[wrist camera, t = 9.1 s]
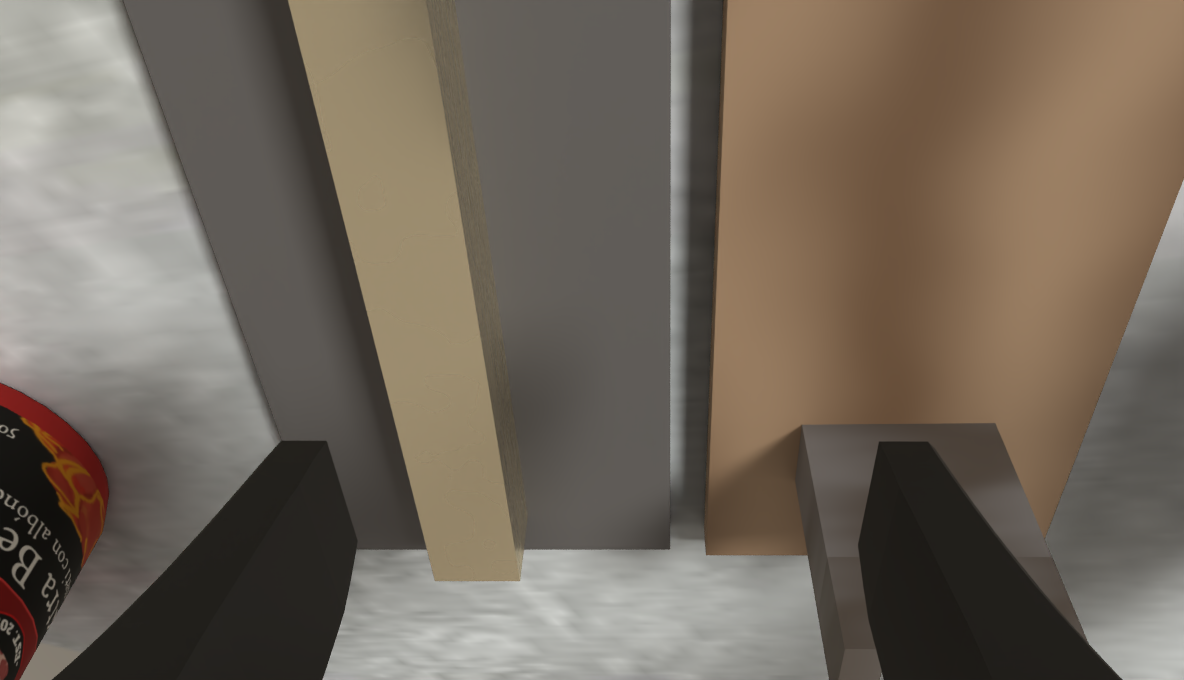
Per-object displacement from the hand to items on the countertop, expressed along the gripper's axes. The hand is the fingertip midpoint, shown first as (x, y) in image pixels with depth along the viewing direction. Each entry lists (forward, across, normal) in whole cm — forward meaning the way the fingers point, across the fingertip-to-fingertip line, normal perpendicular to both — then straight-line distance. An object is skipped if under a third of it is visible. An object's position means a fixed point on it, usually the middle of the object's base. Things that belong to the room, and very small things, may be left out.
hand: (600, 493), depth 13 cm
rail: (+8, +4, -2) cm, 10 cm away
